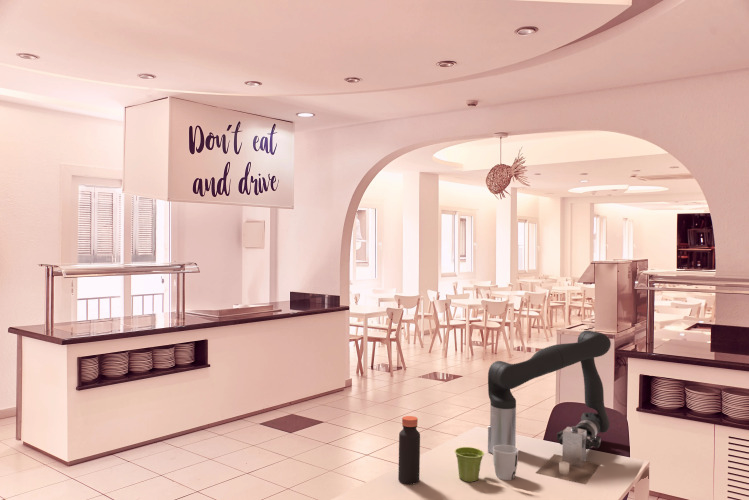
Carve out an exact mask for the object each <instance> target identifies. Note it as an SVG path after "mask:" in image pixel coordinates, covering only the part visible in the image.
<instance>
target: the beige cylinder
mask: <svg viewBox="0 0 749 500" xmlns="http://www.w3.org/2000/svg"><path fill="white" fill-rule="evenodd" d="M559 474H561V475H565V476H567V475H569V463H568V462H565V461H560V462H559Z"/></svg>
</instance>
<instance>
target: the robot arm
mask: <svg viewBox="0 0 749 500" xmlns="http://www.w3.org/2000/svg"><path fill="white" fill-rule="evenodd" d="M611 346H612V343H611V339H610V338H609V336H608V335H606V334H605V333H602V332H599V331H593V330H587V329H586V330H583V331H581V332H580V334H579V335H578V338H577V341H576V342H571V343H559V344H554V345H549V346H547V347H545V348H544V347H543V348H541V349H539V350H537V351H536V352H535V353H534V354H533V355H532V356H531V357H530V358H528V359H527V360H524V361H522V362H517V363H509V362H506V361H502V360H497V361H495V362H493V363H491V365H490V366H489V369H488V373H487V388H488V389H487V391H488V398H489V401H490V402H489V403H490V411H489V412H490V414H489V415H490V416H489V417H490V418H489V419H490V420H489V421H490V422H489V424H490V425H488V426H487V452H488V453H491V454H492V455H493V447H494V446H496V445H510V446H514V447H516V441H517V440H516V439H517V437H516V436H517V433H516V431H517V430H516V429H517V427H516V426H517V399H516V398H515V396H514V395H513V393H512V392H511V390H513V389H515V388H518V387H519V386H522V385H524V384H526V383H527V382H529V381H532V380H534V379H536V378H539V377H543V376H545V375H549V374H551V373H555V372H556V371H558V370H559V371H560V370H562V369H564V368H567V367H569V366H572V365H574V364H578V363H580V365H581V370H582V376H583V385H584V404H585V406H586V407H587V408H589V409H592V410H595V411H596V412H590V411H589V412H588V411H586V412H583V413H582V415H581V417H580V422H578V423H577V424H576V425H575V426H576V427H578V429H584V430H586V443H585V449H586V451H587V450H589V449H590V450H591V448H593V447H594V448H595V449H599V447H600V446H601V442H602V441H601V436H599V433H602V434H603V433H606V432H607V431H609V429H610V425H609V424H610V420H609V416H608V413H607V411H606V406H605V398H604V396H605V395H604V386H603V381H602V379H601V377H600V375H599V372H598V369H597V366H596V363H595V358H599V357H602V356H604V355H606V354H607V353H608V351H610V349H611ZM564 430H565V429H560V431H558V432H557V433H556V441H558V443H559V445H561V446H563V431H564Z"/></svg>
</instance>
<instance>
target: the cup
mask: <svg viewBox="0 0 749 500" xmlns="http://www.w3.org/2000/svg"><path fill="white" fill-rule="evenodd" d="M492 456H493V457H492V458H493V460H492V461H493V466H494V472H495V476H496V478H497V479H499V480H502V481H512V480H514V479H515V477H516V474H517V469H518V460H519V448H518V447H516V446H515V447H514V446H510V445H496V446H494V447H493V454H492Z"/></svg>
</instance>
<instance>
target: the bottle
mask: <svg viewBox="0 0 749 500" xmlns="http://www.w3.org/2000/svg"><path fill="white" fill-rule="evenodd" d="M401 419H402V420H401V421H402V422H401V424H402V425H401V426H402V429H401V430H400V431H399V433H398V435H399V436H398V472H397V473H398V482H400V483H401V484H405V485H416V484H417V483H419V482H420V469H421V468H420V467H421V466H420V464H421V463H420V462H421V461H420V458H421V434H420V432H419V431H418V430H417V427H418V417H416V416H413V415H405V416H402V418H401Z"/></svg>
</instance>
